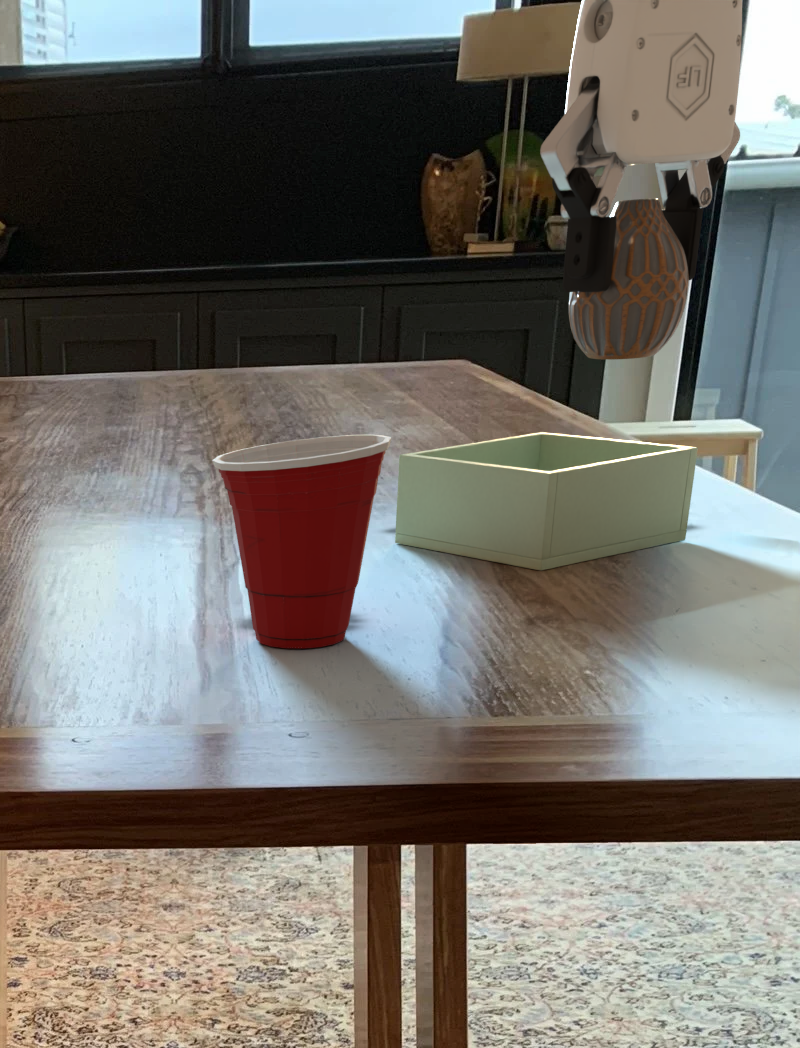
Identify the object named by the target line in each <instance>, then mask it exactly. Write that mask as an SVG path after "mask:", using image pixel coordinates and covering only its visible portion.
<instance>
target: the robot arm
mask: <svg viewBox="0 0 800 1048" xmlns="http://www.w3.org/2000/svg"><path fill="white" fill-rule="evenodd" d="M742 34H743V0H581V4H580V8H579V13H578V18H577V23H576V30H575V35H574V40H573V48H572V53H571V59H570V66H569V73H568V80H567V81H568V82H567V90H566V99H565V109H564V114H563V116H562V117H561V118H560V119H559V121H558V122H557V123H556V125H554V128H553V129H552V130H551V131H550V133H549V134H548V135H547V136H546V138H545V140H544V141H543V142H542V143H541V145H540V150H539V152H540V153H539V154H540V157H541V159H542V161H543V164H544V165H545V168H546V170H547V172H548V174H549V177H550V178H551V179H552V181H551V185H552V188H553V191H554V192H555V193H556V195H557V198H558V199H559V201H560V203H561V205H560V215H561V217H562V218H563V219H564V220H567V228H566V238H565V239H566V240H565V250H564V251H565V252H564V260H563V261H564V262H563V274H562V290H563V291H564V292H566V293H570V292H602V291H606V290H607V289H608V288H609V286H610V284H611V274H612V264H613V254H614V244H615V234H616V218H617V216H614V217H610V216H608V215H609V213H610V211H611V209H612V206H613V203H614V200H615V198H616V196H617V193H618V190H619V188H620V185H621V183H622V180H623V178H624V176H625V172H626V171H627V168H628V166H638V165H648V164H654V169H655V173H656V178H657V179H656V180H657V183H658V189H659V194H660V199H661V204H662V207H663V208H664V209H662V212H663V214H664V217H665V219H666V220H667V222H668V223H669V225H670V227H671V228H672V230H673V231H674V233H675V234H676V236H677V238H678V239H679V241H680V243H681V245H682V247H683V249H684V252H685V256H686V260H687V266H688V279H689V281H692V280H693V279H694V278H695V276H696V273H697V263H698V255H699V248H700V247H699V246H700V240H701V230H702V223H703V213H704V208H706V207H708V206H709V205H710V204H711V201H712V200H713V199H712V198H713V189H714V186H716V184H717V182H718V181H719V180H720V178H721V177H722V175H723V173H724V169H725V165H726V164H727V162H728V160H729V158H730V157H731V155H732V154H733V151H734V150H735V149H736V147H737V145H738V143H739V142H740V138H741V131H740V128H739V126H738V124H737V122H736V116H737V115H736V114H737V105H738V95H739V84H740V82H739V81H740V72H741V71H740V69H741V54H742V53H741V52H742V36H743V35H742ZM681 170H685V171H684V173H683V174H682V175H681V177H680V175H679V171H681ZM595 177H600V178H599V180H598V183H597V185H596V184H595V182H594V178H595Z"/></svg>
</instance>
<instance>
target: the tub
mask: <svg viewBox="0 0 800 1048" xmlns="http://www.w3.org/2000/svg"><path fill="white" fill-rule="evenodd" d="M698 451H699V448H698V447H697V446H688V445H679V444H678V445H676V444H669V443H668V444H667V443H656V442H646V441H636V440H627V439H616V438H605V437H597V436H596V437H595V436H587V435H586V436H585V435H574V434H565V433H555V432H554V433H553V432H544V431H539V432H533V433H526V434H521V435H515V436H509V437H502V438H501V437H500V438H495V439H490V440H482V441H478V442H471V443H470V442H469V443H465V444H458V445H452V446H447V447H440V448H433V449H427V450H420V451H414V452H410V453H409V452H408V453H403V454H399V456H398V475H397V491H396V492H397V496H396V514H395V531H394V532H395V535H394V543H395V544H399V545H404V546H409V547H415V548H419V549H424V550H425V549H426V550H430V551H435V552H441V553H446V554H452V555H456V556H462V557H466V558H467V557H468V558H472V559H476V560H482V561H488V562H493V563H499V564H504V565H508V566H513V567H519V568H525V569H530V570H535V571H538V572H539V571H546V570H550V569H555V568H559V567H565V566H568V565H574V564H577V563H578V564H579V563H584V562H587V561H592V560H597V559H602V558H606V557H610V556H611V557H612V556H615V555H616V556H617V555H620V554H625V553H630V552H635V551H639V550H644V549H649V548H653V547H658V546H662V545H663V546H664V545H667V544H672V543H677V542H682V541H685V540H686V538H687V529H688V522H689V516H690V508H691V501H692V493H693V487H694V479H695V473H696V472H695V471H696V466H697V465H696V464H697V459H698V458H697V457H698Z"/></svg>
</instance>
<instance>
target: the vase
mask: <svg viewBox="0 0 800 1048" xmlns="http://www.w3.org/2000/svg"><path fill="white" fill-rule="evenodd" d="M662 210H663V209H662V206H661V202H660V199H659V198H657V197H651V198H649V197H648V198H635V199H623V200H617V201H616V203H615V204H614V206H613V209H612V211H611V213H610V215H609V217H614V216H617V218H616V234H615V244H614V254H613V264H612V274H611V284H610V286H609V288H608V289H607V290H606V291H602V292H569V297H568V319H569V326H570V329H571V333H572V336H573V339H574V341H575V343H576V344H577V346H578V347H579V349H580V350H581V352H583V354H584V355H585V356H586V357H587V358H588V359H592V360H604V361H605V360H606V361H607V360H612V361H613V360H630V359H631V360H632V359H643V358H649V357H653V356H656V355H657V353H659V352H660V351H661V350H662V348H664V346H665V345H666V344H668V342H669V341H670V340H671V338H672V337H673V336H674V335H675V332H676V330H677V329H678V327H679V325H680V322H681V320H682V318H683V315H684V311H685V309H686V308H685V307H686V303H687V300H688V299H687V298H688V293H689V282H690V280H689V279H688V266H687V260H686V256H685V252H684V249H683V247H682V245H681V243H680V241H679V239H678V238H677V236H676V234H675V233H674V231H673V230H672V228H671V227H670V225H669V223H668V222H667V220H666V219H665V217H664V214H663V212H662Z"/></svg>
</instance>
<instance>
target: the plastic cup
mask: <svg viewBox="0 0 800 1048" xmlns="http://www.w3.org/2000/svg"><path fill="white" fill-rule="evenodd" d="M391 442H392V437H391V436H387V435H383V434H347V435H333V436H332V435H331V436H320V437H312V438H304V439H303V438H302V439H293V440H287V441H281V442H273V443H268V444H267V443H266V444H261V445H256V446H251V447H247V448H242V449H237V450H233V451H230V452H226V453H223V454H220V455H217V456H215V458H213V459H212V460H211V462H212V464H213V467H214V468H216V469H218V473H220V477H221V479H222V480H223V484H224V489H225V490H226V491H227V496H228V497H227V498H228V501H229V505H230V506H231V508H232V509H231V511H232V515H233V521H234V522H233V523H234V528H235V534H236V540H237V546H238V551H239V557H240V564H241V568H242V569H241V570H242V575H243V581H244V587H245V589H246V590H247V595H248V605H249V609H250V610H249V611H250V616H251V617H250V618H251V623H252V630H254V633H255V639H256V641H258V643H259V644H261V645H265V646H268V647H272V648H273V647H274V648H281V649H301V650H302V649H315V648H322V647H327V646H332V645H336V644H338V643H340V642H342V641H344V639H345V636H346V633H347V630H348V628H349V626H350V619H351V615H352V609H353V604H354V598H355V593H356V588H357V586H358V584H359V579H360V576H361V575H360V574H361V570H362V563H363V559H364V554H365V549H366V542H367V537H368V531H369V527H370V526H369V525H370V520H371V515H372V510H373V505H374V504H373V503H374V500H375V499H374V498H375V495H376V494H377V488H378V484H379V483H378V482H379V476H380V475H381V470H382V464H383V461H384V458H385V454H386V451H388V449H389V448H390V446H391Z"/></svg>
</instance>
